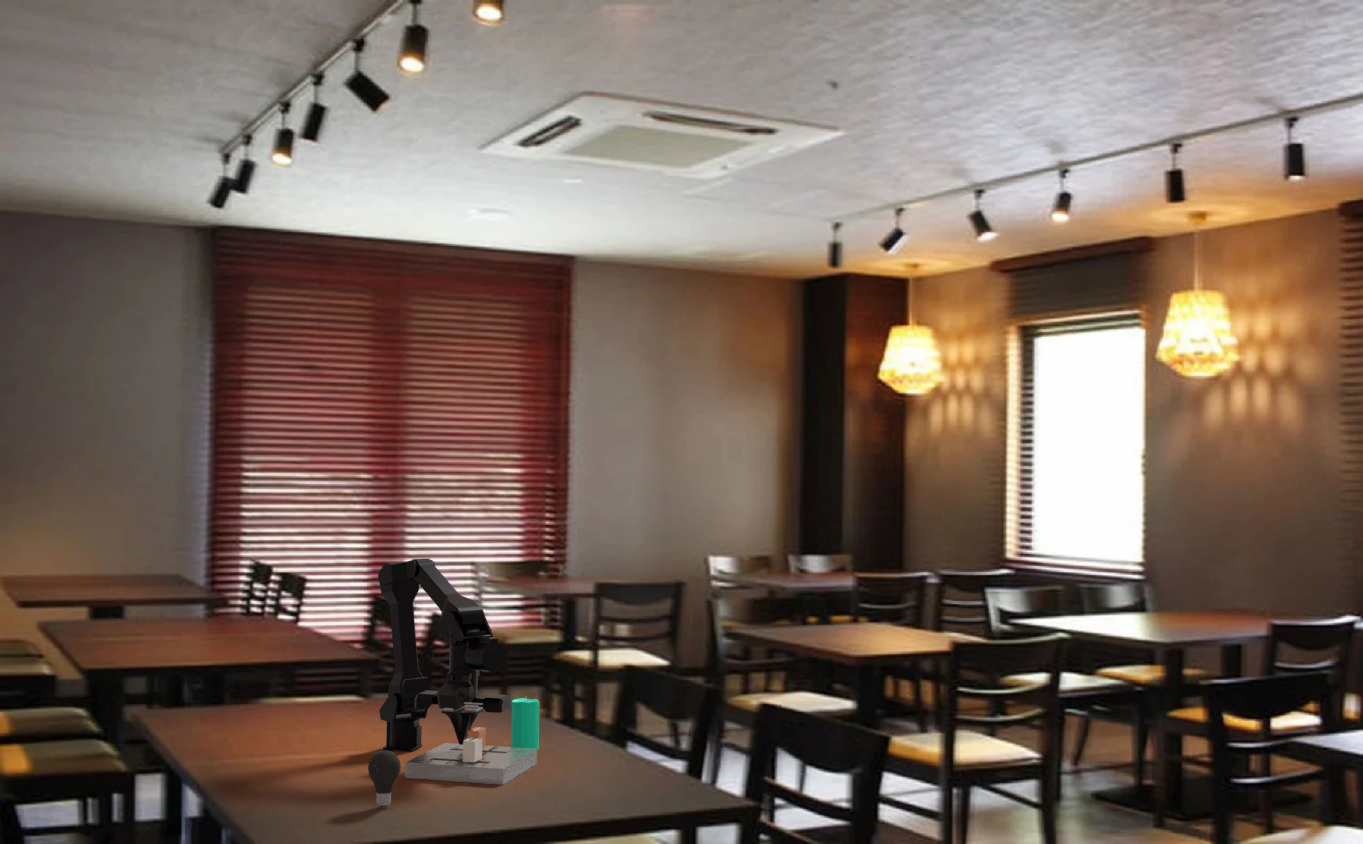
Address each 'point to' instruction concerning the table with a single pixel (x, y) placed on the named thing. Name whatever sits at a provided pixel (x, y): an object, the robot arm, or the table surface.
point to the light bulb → (384, 775)
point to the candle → (525, 723)
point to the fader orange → (478, 734)
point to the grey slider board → (471, 764)
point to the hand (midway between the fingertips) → (461, 744)
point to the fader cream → (472, 749)
